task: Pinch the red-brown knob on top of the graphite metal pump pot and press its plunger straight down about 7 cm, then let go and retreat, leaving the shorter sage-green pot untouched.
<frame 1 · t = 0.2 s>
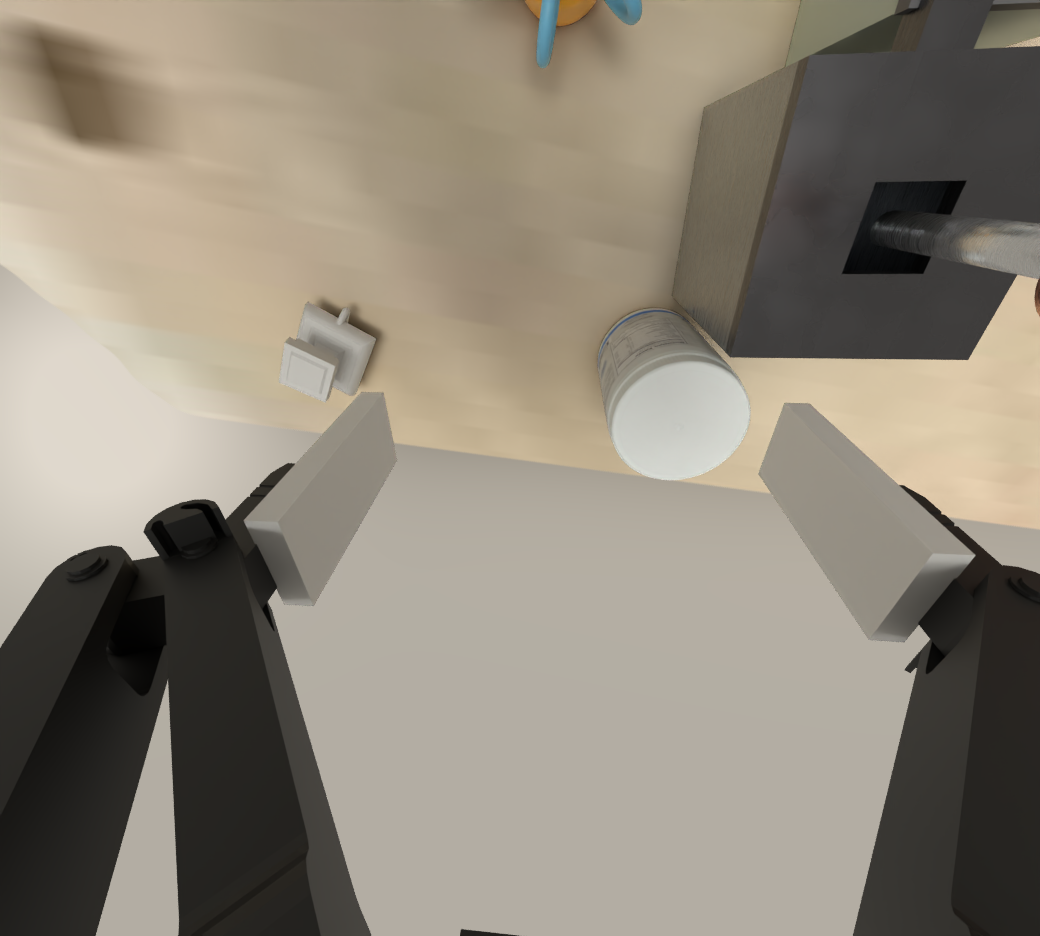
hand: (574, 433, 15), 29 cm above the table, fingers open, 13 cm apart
supplement tub: (645, 354, 42), on the table
pump pot: (769, 210, 34), on the table
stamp: (344, 341, 44), on the table
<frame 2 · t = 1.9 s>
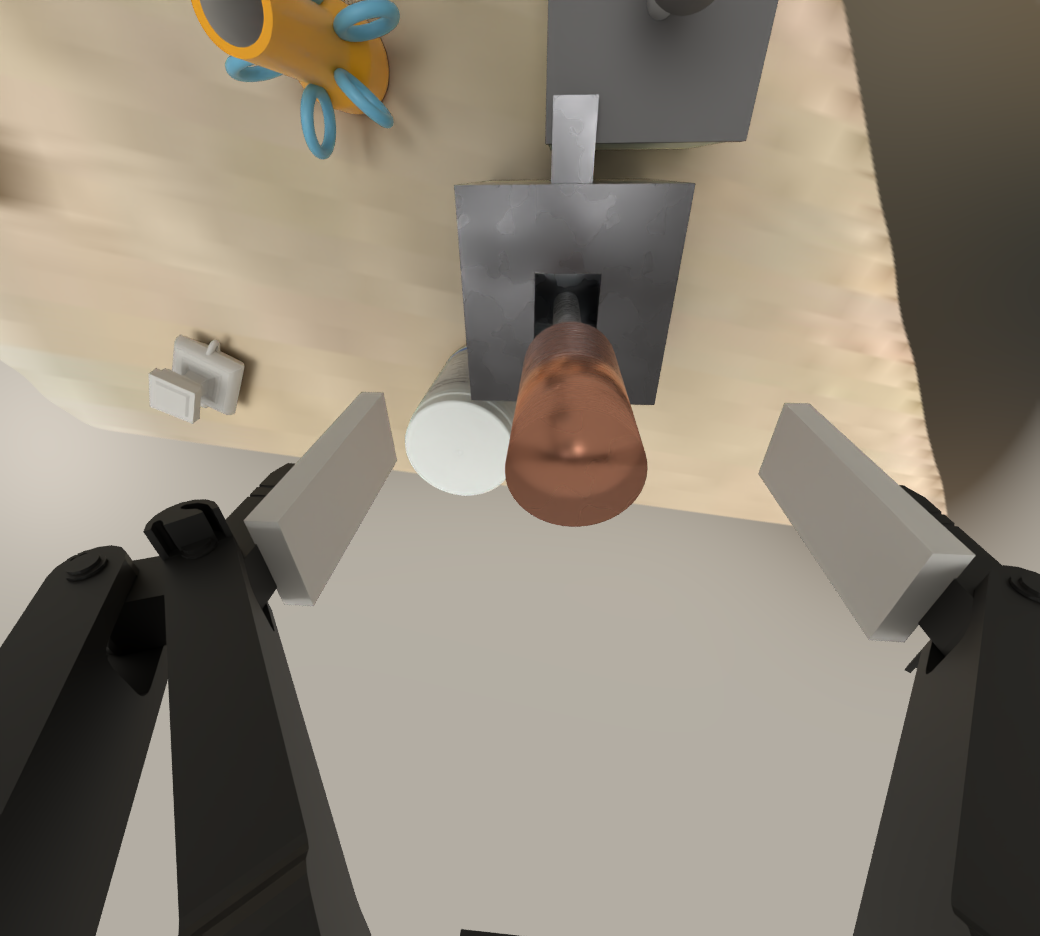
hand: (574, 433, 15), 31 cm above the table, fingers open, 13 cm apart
orange looped holder: (353, 65, 34), on the table
supplement tub: (485, 381, 48), on the table
pump pot: (563, 263, 40), on the table
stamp: (224, 367, 49), on the table
plunger: (568, 356, 20), point 25 cm above the table, slide at 0.0 cm
sage pot: (627, 57, 32), on the table
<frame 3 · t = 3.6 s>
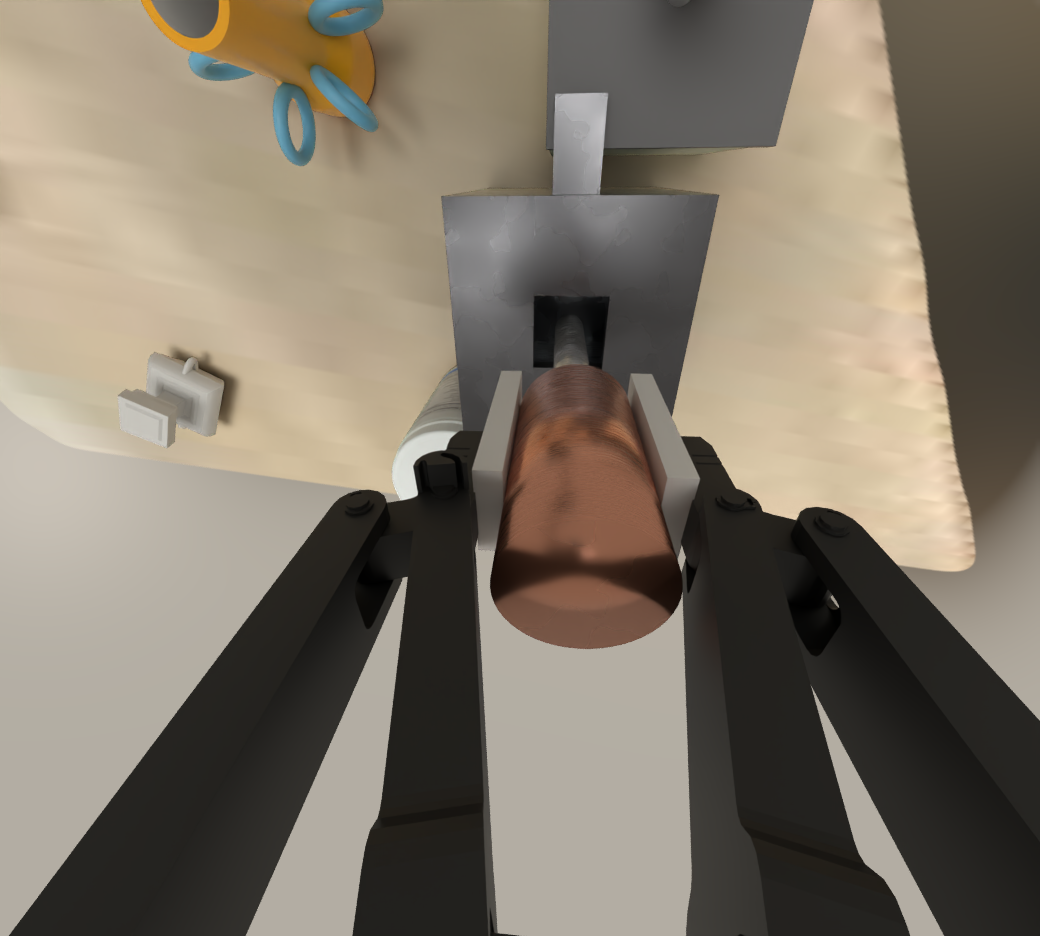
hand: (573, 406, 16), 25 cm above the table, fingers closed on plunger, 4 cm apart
orange looped holder: (336, 63, 31), on the table
supplement tub: (482, 401, 45), on the table
pump pot: (566, 277, 37), on the table
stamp: (204, 385, 46), on the table
plunger: (573, 399, 17), point 24 cm above the table, slide at 0.0 cm, touching gripper
sage pot: (636, 54, 29), on the table
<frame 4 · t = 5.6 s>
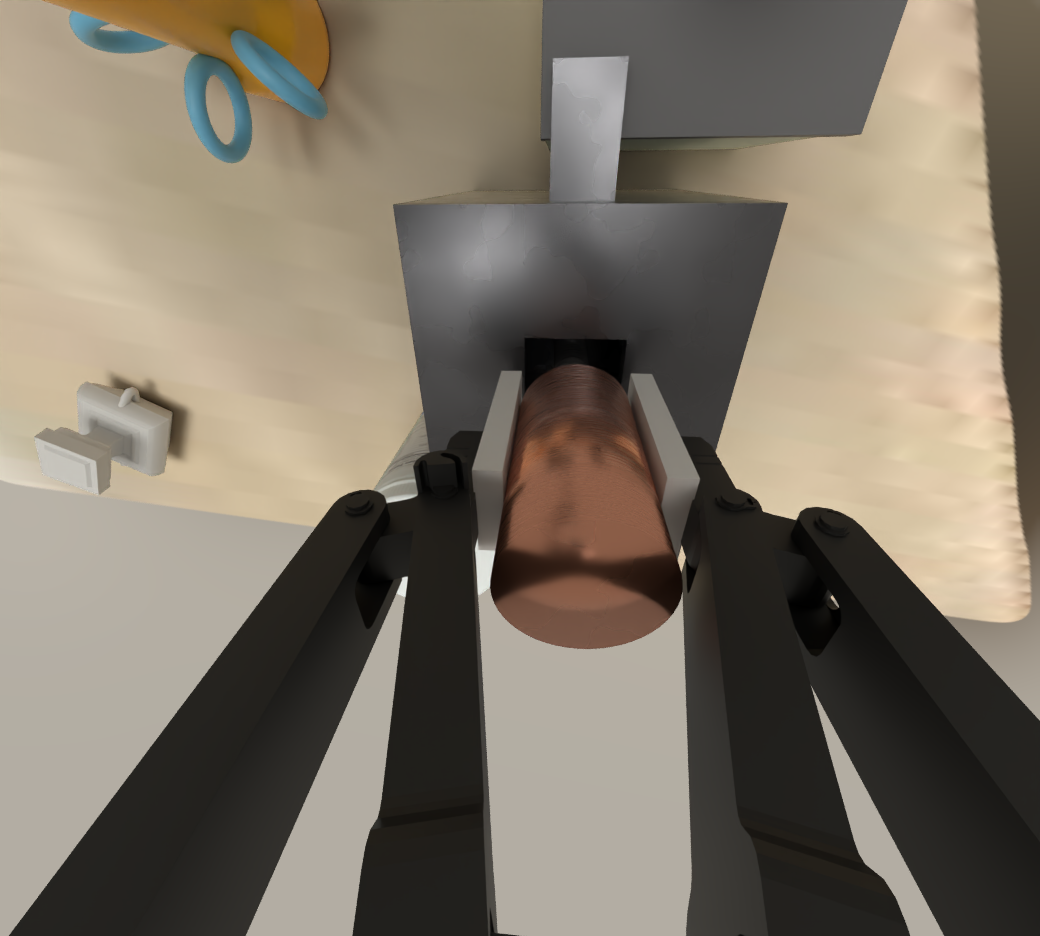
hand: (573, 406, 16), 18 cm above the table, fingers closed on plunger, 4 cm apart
orange looped holder: (281, 35, 25), on the table
supplement tub: (470, 436, 39), on the table
pump pot: (567, 297, 31), on the table
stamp: (151, 416, 40), on the table
plunger: (573, 399, 17), point 17 cm above the table, slide at 7.3 cm, touching gripper
sage pot: (656, 22, 23), on the table
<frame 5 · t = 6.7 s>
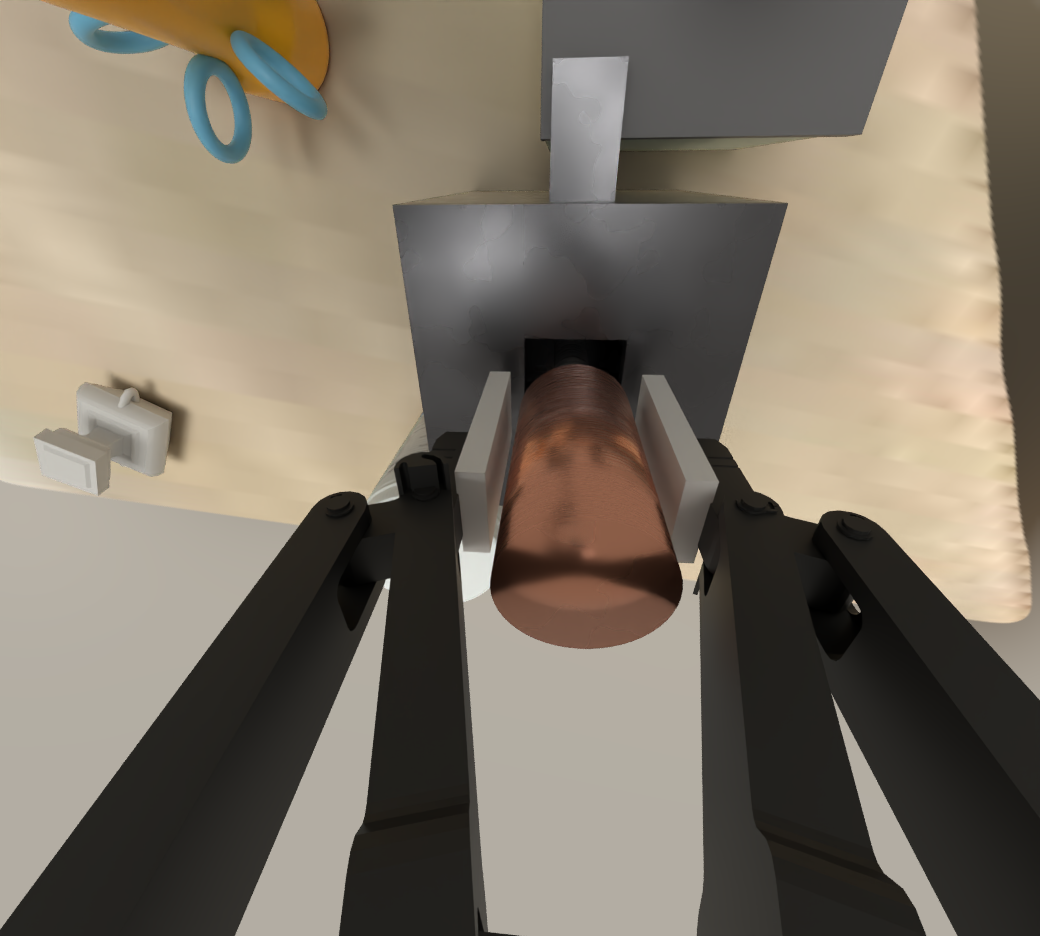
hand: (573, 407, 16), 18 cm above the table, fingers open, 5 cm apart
orange looped holder: (281, 36, 25), on the table
supplement tub: (470, 436, 39), on the table
pump pot: (567, 297, 31), on the table
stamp: (150, 416, 40), on the table
plunger: (573, 399, 17), point 17 cm above the table, slide at 7.3 cm
sage pot: (656, 22, 23), on the table
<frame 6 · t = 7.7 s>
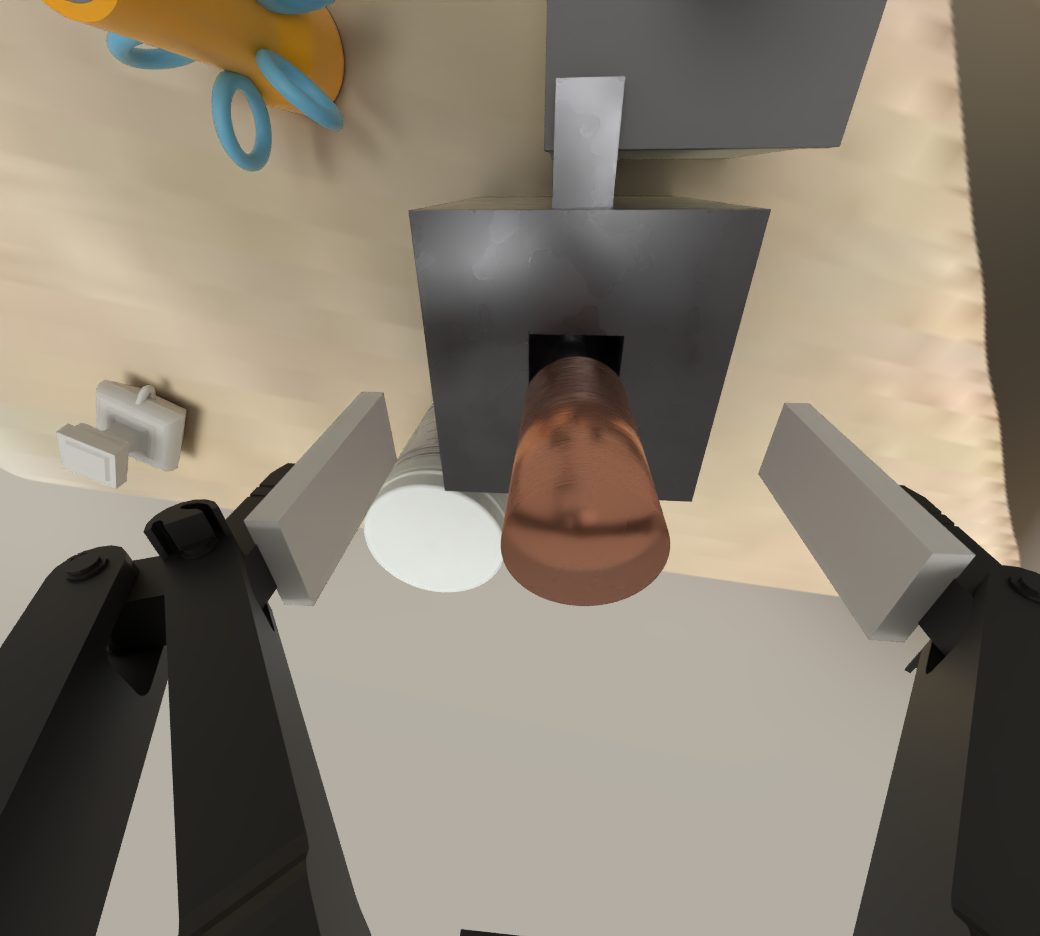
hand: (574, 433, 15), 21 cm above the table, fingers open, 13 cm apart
orange looped holder: (299, 51, 26), on the table
supplement tub: (474, 433, 40), on the table
pump pot: (568, 298, 32), on the table
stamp: (165, 413, 41), on the table
plunger: (573, 390, 18), point 17 cm above the table, slide at 7.3 cm
sage pot: (653, 40, 24), on the table
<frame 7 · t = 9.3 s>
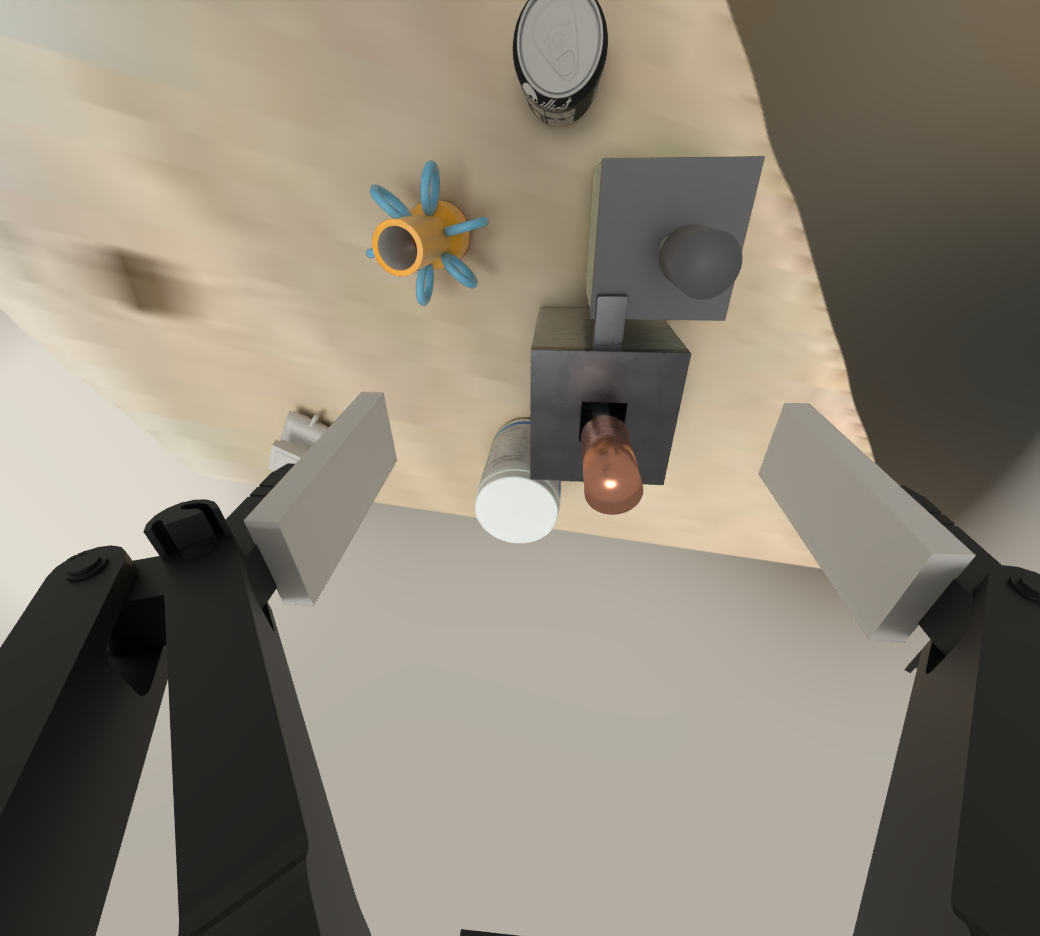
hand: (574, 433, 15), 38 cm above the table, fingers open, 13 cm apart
orange looped holder: (443, 232, 46), on the table
supplement tub: (526, 446, 60), on the table
pump pot: (592, 363, 52), on the table
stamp: (317, 431, 61), on the table
beverage can: (560, 81, 39), on the table
plunger: (603, 428, 38), point 17 cm above the table, slide at 7.3 cm
sage pot: (643, 232, 44), on the table
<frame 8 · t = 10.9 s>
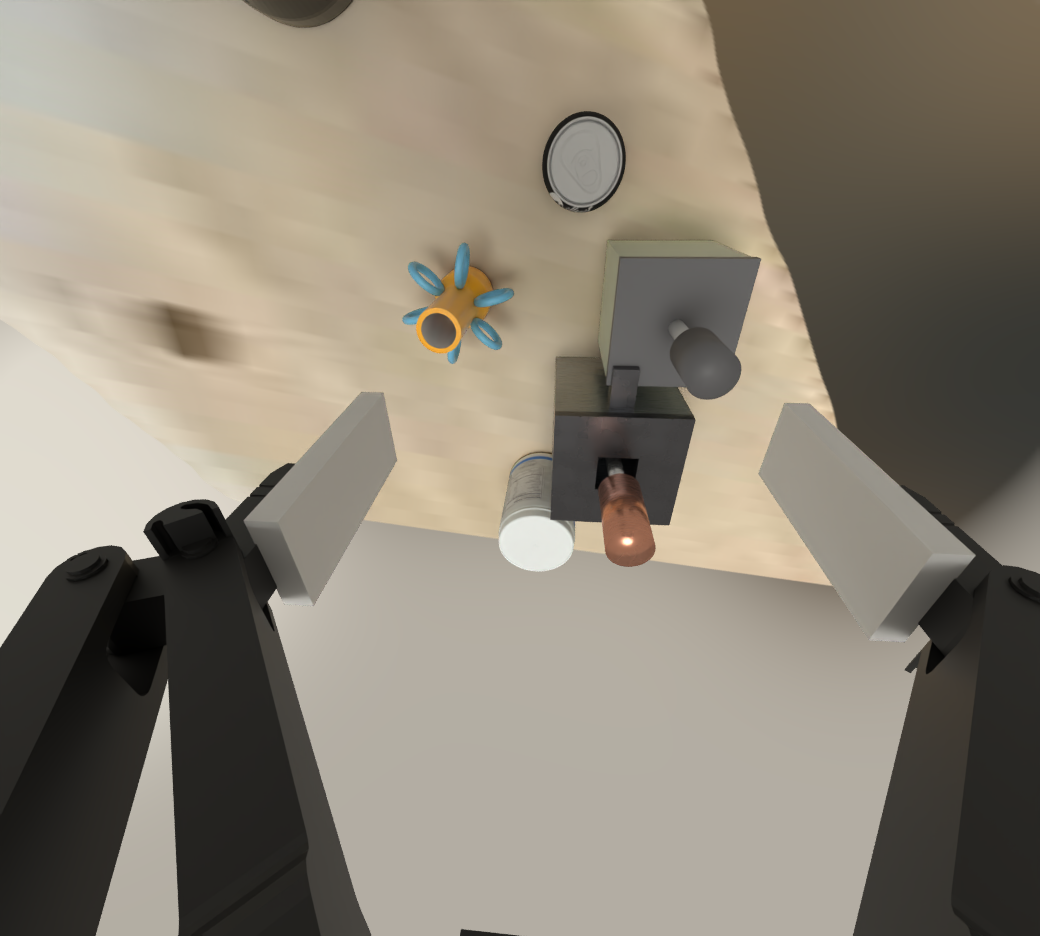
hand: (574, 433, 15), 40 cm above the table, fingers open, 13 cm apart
orange looped holder: (469, 292, 51), on the table
supplement tub: (541, 476, 65), on the table
pump pot: (603, 405, 57), on the table
beverage can: (578, 166, 43), on the table
plunger: (617, 481, 43), point 17 cm above the table, slide at 7.3 cm
sage pot: (651, 294, 49), on the table
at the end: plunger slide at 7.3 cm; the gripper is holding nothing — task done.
